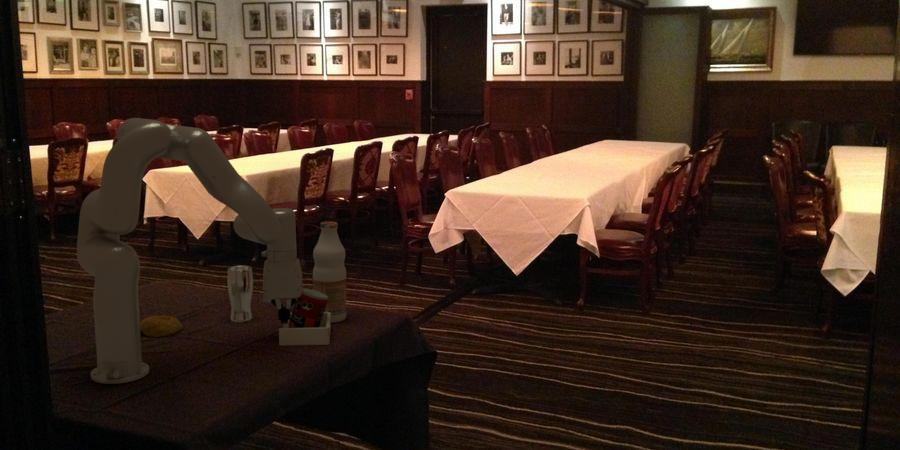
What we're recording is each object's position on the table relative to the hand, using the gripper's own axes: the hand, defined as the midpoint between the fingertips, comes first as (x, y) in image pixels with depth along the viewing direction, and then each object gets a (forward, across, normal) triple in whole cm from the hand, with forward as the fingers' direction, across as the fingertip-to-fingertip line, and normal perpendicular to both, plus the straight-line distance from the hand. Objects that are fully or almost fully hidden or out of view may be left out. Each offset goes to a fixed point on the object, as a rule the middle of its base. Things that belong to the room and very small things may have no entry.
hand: (284, 322), depth 218 cm
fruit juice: (+4, +12, +15) cm, 19 cm away
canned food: (+3, +4, 0) cm, 5 cm away
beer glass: (+4, -13, +16) cm, 21 cm away
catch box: (+4, +6, -1) cm, 7 cm away
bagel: (+4, -33, +6) cm, 34 cm away
